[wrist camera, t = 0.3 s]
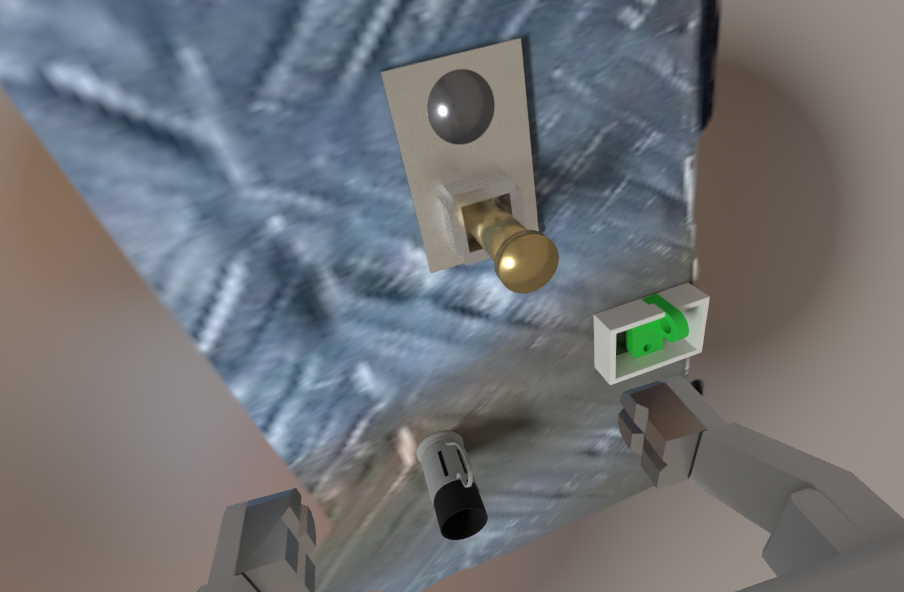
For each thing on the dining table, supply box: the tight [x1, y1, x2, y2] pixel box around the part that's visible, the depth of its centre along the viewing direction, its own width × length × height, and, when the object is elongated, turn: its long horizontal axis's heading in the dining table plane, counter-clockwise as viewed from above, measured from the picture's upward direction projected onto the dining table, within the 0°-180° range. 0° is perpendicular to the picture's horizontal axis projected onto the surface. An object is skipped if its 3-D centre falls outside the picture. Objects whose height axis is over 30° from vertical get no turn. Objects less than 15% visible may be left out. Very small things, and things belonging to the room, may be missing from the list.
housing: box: [379, 38, 539, 273], centre depth 54 cm, size 25×16×6 cm, turn 11°
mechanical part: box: [626, 293, 689, 358], centre depth 75 cm, size 12×6×8 cm, turn 14°
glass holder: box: [417, 431, 488, 540], centre depth 73 cm, size 9×14×15 cm, turn 171°
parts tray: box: [594, 283, 710, 385], centre depth 77 cm, size 12×18×5 cm, turn 101°
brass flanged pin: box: [461, 198, 559, 293], centre depth 51 cm, size 6×6×16 cm
